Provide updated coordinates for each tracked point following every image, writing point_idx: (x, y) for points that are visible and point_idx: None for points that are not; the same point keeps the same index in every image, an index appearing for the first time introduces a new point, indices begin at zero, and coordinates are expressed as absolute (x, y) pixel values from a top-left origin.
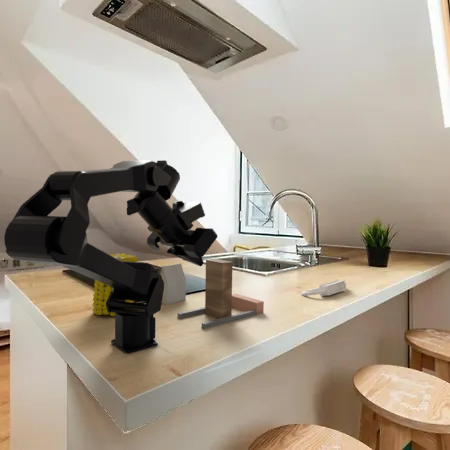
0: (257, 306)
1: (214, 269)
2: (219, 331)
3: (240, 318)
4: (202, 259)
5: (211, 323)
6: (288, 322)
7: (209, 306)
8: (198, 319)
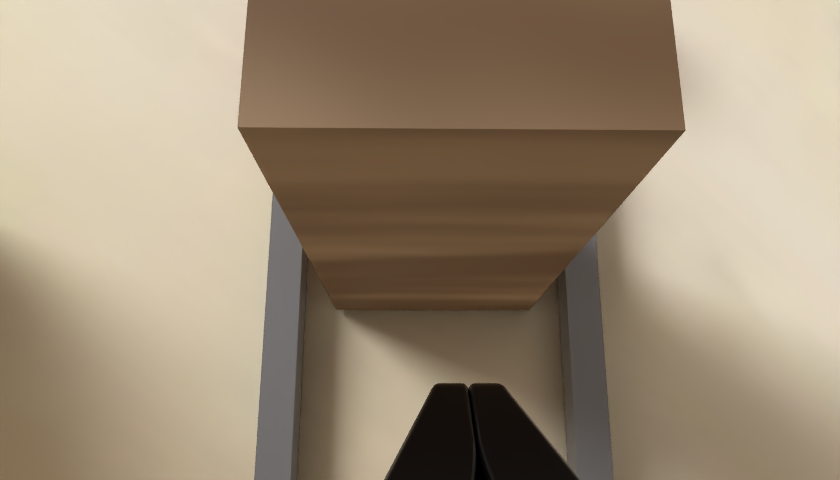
0: None
1: (467, 179)
2: (686, 464)
3: None
4: (539, 430)
5: (610, 467)
6: (787, 4)
7: (385, 294)
8: (386, 415)
